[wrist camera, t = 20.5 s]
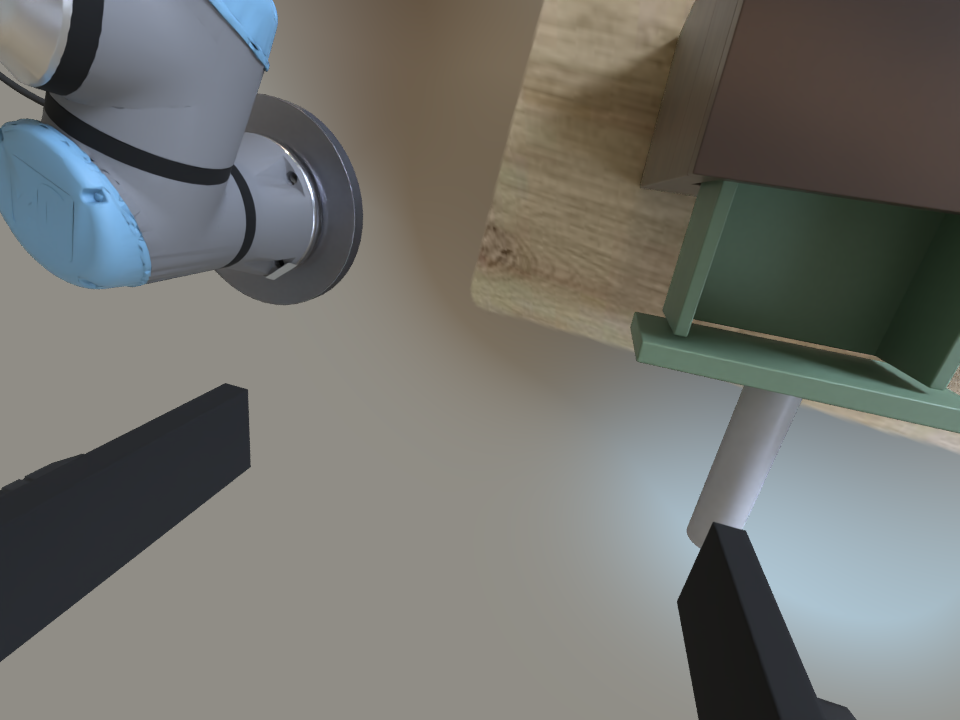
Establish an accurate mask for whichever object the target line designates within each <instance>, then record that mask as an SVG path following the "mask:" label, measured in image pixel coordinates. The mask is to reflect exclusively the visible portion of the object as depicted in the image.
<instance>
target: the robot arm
mask: <svg viewBox="0 0 960 720" xmlns="http://www.w3.org/2000/svg"><path fill="white" fill-rule="evenodd" d="M277 25H278V16H277V11H276V8H275V5H274V2H273V1H272V0H0V62H1V63H2V64H3V65H4V66H5V68H6V69H7V70H8V71H9V72H10V73H11V74H12V75H13V76H14V77H15V78H16V79H17V80H18V81H19V82H21V83H23V84H26V85H28V86H31V87H34V88H38V89H41V90H44V91H46V96H45V99H43V98H41V97H39V96H37V95H35V94H33V93H31V92H29V91H28V90H26V89H25V88H23V87H21V86H20V85H18V84H16V83H15V82H14V81H12V80H11V79H9V78H8V77H6V76H5V75H4V74H2V73H1V72H0V80H1V81H3V82H4V83H5V84H7V85H8V86H10V87H11V88H12V89H14V90H16V91H17V92H19V93H20V94H22V95H24V96H25V97H27V98H29V99H31V100H33V101H34V102H36V103H38V104H40V105H42V106H44V108H43V116H42V120H41V121H38V120H33V119H19V120H17V121H12V122H7V123H5V124H4V125H3V126H2V127H1V128H0V212H1V214H2V216H3V218H4V220H5V221H6V223H7V224H8V226H9V227H10V229H11V231H12V233H13V234H14V236H15V237H16V238H17V240H18V241H19V242H20V244H21V245H22V246H23V247H24V249H25V250H26V251H27V252H28V253H29V254H30V255H31V256H32V257H33V258H34V259H35V260H36V261H37V262H38V263H39V264H41V265H42V266H43V267H44V268H45V269H47V270H48V271H49V272H51V273H52V274H54V275H55V276H57V277H59V278H60V279H62V280H64V281H66V282H68V283H71V284H74V285H76V286H79V287H83V288H89V289H106V288H114V287H122V286H128V287H136V286H141V285H143V284H149V283H153V282H158V281H163V280H167V279H172V278H177V277H182V276H187V275H191V274H196V273H200V272H205V271H210V270H215V269H220V268H228V269H232V270H237V271H241V272H246V273H251V274H255V275H261V276H267V277H265V278H268V279H272V280H275V279H276V278H278V277H279V276H281V275H283V274H284V273H286V272H289V271H292V270H294V269H296V268H298V267H300V266H301V265H303V264H304V263H305V262H306V261H307V260H308V259H309V258H310V256H311V255H312V254H313V252H314V251H315V249H316V247H317V245H318V242H319V239H320V236H321V232H322V225H323V208H322V201H321V196H320V192H319V189H318V186H317V183H316V181H315V179H314V177H313V175H312V173H311V171H310V169H309V168H308V166H307V165H306V163H305V162H304V161H303V159H302V158H301V157H300V156H299V155H298V154H297V153H296V152H295V151H294V150H293V149H292V148H291V147H290V146H288V145H287V144H285V143H284V142H282V141H280V140H279V139H276V138H274V137H272V136H268V135H264V134H259V133H254V132H246V131H245V129H246V125H247V122H248V119H249V116H250V113H251V110H252V107H253V104H254V101H255V98H256V95H257V92H258V89H259V86H260V83H261V80H262V77H263V74H264V71H266V72H267V71H268V69H269V62H268V58H269V54H270V51H271V47H272V44H273V40H274V36H275V33H276V29H277ZM249 440H250V438H249V410H248V390H247V389H244V388H240V387H237V386H233V385H230V384H226V383H225V384H223V385H221V386H219V387H217V388H215V389H213V390H211V391H209V392H207V393H205V394H203V395H201V396H199V397H197V398H195V399H193V400H191V401H189V402H187V403H185V404H183V405H181V406H179V407H177V408H176V409H173V410H171V411H169V412H167V413H165V414H164V415H161V416H159V417H158V418H155V419H153V420H151V421H149V422H148V423H146V424H144V425H142V426H140V427H138V428H136V429H134V430H132V431H130V432H128V433H126V434H124V435H122V436H120V437H118V438H116V439H114V440H112V441H110V442H108V443H106V444H104V445H102V446H100V447H98V448H96V449H94V450H92V451H90V452H88V453H86V454H80V455H77V456H74V457H70V458H67V459H64V460H61V461H57V462H54V463H51V464H49V465H47V466H45V467H43V468H41V469H39V470H37V471H35V472H33V473H31V474H29V475H27V476H25V478H24V479H23V480H20V479H19V480H16V481H14V482H13V483H10V484H9V485H6V486H4V487H2V490H0V662H1V661H2V660H3V659H5V658H6V657H7V656H9V655H10V654H11V653H12V652H14V651H15V650H16V649H17V648H19V647H20V646H21V645H23V644H24V643H25V642H26V641H28V640H29V639H30V638H31V637H33V636H34V635H35V634H37V633H38V632H39V631H40V630H42V629H43V628H44V627H46V626H47V625H48V624H50V623H51V622H52V621H53V620H55V619H56V618H57V617H59V616H60V615H61V614H62V613H63V612H65V611H66V610H68V609H69V608H70V607H71V606H73V605H74V604H75V603H76V602H78V601H79V600H80V599H82V598H83V597H84V596H86V595H87V594H88V593H89V592H91V591H92V590H93V589H94V588H96V587H97V586H98V585H100V584H101V583H102V582H103V581H105V580H106V579H107V578H108V577H110V576H111V575H112V574H114V573H115V572H116V571H118V570H119V569H120V568H121V567H123V566H124V565H125V564H127V563H128V562H129V561H130V560H132V559H133V558H134V557H136V556H137V555H138V554H139V553H141V552H142V551H143V550H145V549H146V548H147V547H148V546H150V545H151V544H152V543H153V542H155V541H156V540H157V539H159V538H160V537H161V536H163V535H164V534H165V533H166V532H168V531H169V530H170V529H172V528H173V527H174V526H175V525H177V524H178V523H179V522H180V521H181V520H183V519H184V518H186V517H187V516H188V515H189V514H190V513H192V512H193V511H195V510H196V509H197V508H198V507H200V506H201V505H202V504H203V503H205V502H206V501H207V500H209V499H210V498H211V497H212V496H214V495H215V494H216V493H217V492H219V491H220V490H221V489H223V488H224V487H225V486H227V485H228V484H229V483H230V482H232V481H233V480H234V479H235V478H237V477H238V476H239V475H241V474H242V473H243V472H245V471H246V470H247V469H249V468H250V467H251V465H250V441H249ZM677 604H678V610H679V615H680V621H681V626H682V631H683V636H684V642H685V647H686V653H687V658H688V664H689V669H690V675H691V680H692V686H693V691H694V696H695V702H696V707H697V713H698V718H699V720H856V719H855V717H854V716H853V715H852V713H851V712H850V711H849V710H848V708H847V707H844V706H841V705H838V704H835V703H832V702H829V701H825V700H823V699H820V698H817V697H816V694H815V692H814V689H813V687H812V685H811V682H810V680H809V678H808V675H807V673H806V671H805V669H804V666H803V664H802V661H801V659H800V657H799V654H798V652H797V650H796V647H795V645H794V643H793V640H792V638H791V635H790V633H789V631H788V629H787V626H786V624H785V622H784V619H783V617H782V614H781V612H780V610H779V607H778V605H777V603H776V600H775V598H774V596H773V594H772V591H771V589H770V586H769V584H768V582H767V579H766V577H765V575H764V572H763V570H762V568H761V566H760V563H759V561H758V558H757V556H756V553H755V551H754V549H753V546H752V544H751V542H750V540H749V537H748V535H747V532H746V531H745V530H741V529H738V528H734V527H731V526H727V525H724V524H720V523H717V522H713V523H712V525H711V527H710V529H709V531H708V534H707V536H706V538H705V540H704V543H703V545H702V547H701V549H700V552H699V554H698V556H697V558H696V560H695V563H694V565H693V567H692V569H691V572H690V574H689V576H688V578H687V580H686V583H685V585H684V587H683V589H682V592H681V594H680V596H679V598H678V601H677Z"/></svg>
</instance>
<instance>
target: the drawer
mask: <svg viewBox="0 0 960 720" xmlns="http://www.w3.org/2000/svg"><path fill="white" fill-rule="evenodd" d="M663 313H664V315H665V317H666V318H664V317H659V316H654V315H649V314H644V313H639V312H635V313H634V316H633V319H632V323H631V327H630V328H631V333H632V339H633V344H634V350H635V355H636V361H638V362H641V363H645V364H650V365H654V366H659V367H664V368H668V369H672V370H677V371H681V372H686V373H690V374H695V375H699V376H704V377H708V378H713V379H717V380H722V381H726V382H731V383H735V384H740V385H744V387H743V390H742V392H741V395H740V397H739V400H738V402H737V405H736V407H735V410H734V412H733V415H732V417H731V420H730V422H729V425H728V427H727V430H726V432H725V435H724V437H723V440H722V442H721V445H720V447H719V450H718V453H717V455H716V457H715V460H714V462H713V465H712V467H711V470H710V472H709V475H708V477H707V480H706V482H705V485H704V487H703V490H702V492H701V495H700V497H699V500H698V502H697V505H696V507H695V510H694V512H693V515H692V517H691V520H690V522H689V525H688V527H687V535H688V537H689V538H690V540H691V541H692V542H693V543H694V544H695V545H696V546H698V547H699V548H700V549H701V547H702V545H703V543H704V540H705V538H706V536H707V534H708V531H709V529H710V527H711V525H712V523H713V522H717V523H720V524H724V525H727V526H731V527H734V528H738V529H741V530H743V527H744V525H745V523H746V520H747V519H748V516H749V514H750V512H751V510H752V508H753V505H754V503H755V501H756V499H757V497H758V495H759V492H760V490H761V488H762V486H763V484H764V481H765V479H766V477H767V475H768V473H769V471H770V468H771V466H772V464H773V462H774V459H775V457H776V455H777V453H778V451H779V449H780V447H781V444H782V442H783V440H784V438H785V436H786V433H787V431H788V429H789V427H790V424H791V422H792V420H793V418H794V416H795V414H796V411H797V409H798V407H799V405H800V403H801V401H802V398H803V399H807V400H812V401H816V402H821V403H825V404H830V405H834V406H839V407H843V408H848V409H852V410H857V411H861V412H866V413H870V414H875V415H879V416H884V417H888V418H893V419H897V420H902V421H906V422H911V423H915V424H920V425H924V426H929V427H933V428H938V429H942V430H947V431H951V432H956V433H960V396H959V395H958V394H956V393H954V392H952V391H951V390H949V389H947V388H946V387H947V385H948V384H949V382H950V380H951V378H952V377H953V375H954V373H955V372H956V370H957V368H958V366H959V365H960V215H955V214H948V213H941V212H934V211H928V210H921V209H914V208H907V207H900V206H893V205H886V204H880V203H873V202H866V201H859V200H852V199H845V198H838V197H832V196H825V195H818V194H811V193H804V192H797V191H790V190H784V189H777V188H770V187H763V186H756V185H749V184H742V183H736V182H729V181H722V180H716V181H709V182H702V183H701V185H700V189H699V192H698V195H697V199H696V202H695V205H694V208H693V212H692V215H691V218H690V221H689V225H688V228H687V231H686V234H685V238H684V241H683V244H682V248H681V251H680V254H679V257H678V261H677V264H676V267H675V270H674V274H673V277H672V280H671V284H670V287H669V290H668V293H667V297H666V300H665V303H664V306H663ZM693 319H695V320H700V321H705V322H710V323H715V324H720V325H725V326H730V327H735V328H740V329H745V330H750V331H755V332H760V333H764V334H769V335H774V336H779V337H784V338H789V339H794V340H799V341H804V342H809V343H814V344H819V345H824V346H829V347H834V348H839V349H844V350H849V351H854V352H859V353H864V354H869V355H874V356H876V357H878V358H880V359H881V360H883V361H885V362H881V361H876V360H871V359H866V358H861V357H856V356H851V355H846V354H841V353H836V352H831V351H826V350H821V349H816V348H812V347H807V346H802V345H797V344H792V343H787V342H782V341H777V340H772V339H767V338H762V337H757V336H752V335H747V334H742V333H738V332H733V331H728V330H723V329H718V328H713V327H708V326H703V325H698V324H693V323H692V321H693ZM886 362H887V363H886Z"/></svg>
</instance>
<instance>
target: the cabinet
mask: <svg viewBox="0 0 960 720" xmlns="http://www.w3.org/2000/svg"><path fill="white" fill-rule="evenodd" d="M716 180H722V181H729V182H736V183H742V184H749V185H756V186H763V187H770V188H777V189H784V190H790V191H797V192H804V193H811V194H818V195H825V196H832V197H838V198H845V199H852V200H859V201H866V202H873V203H880V204H886V205H893V206H900V207H907V208H914V209H921V210H928V211H934V212H941V213H948V214H955V215H960V0H695V2H694V4H693V6H692V8H691V11H690V13H689V15H688V17H687V19H686V22H685V24H684V26H683V28H682V30H681V33H680V35H679V38H678V42H677V46H676V49H675V53H674V57H673V61H672V65H671V69H670V72H669V76H668V80H667V84H666V88H665V92H664V96H663V99H662V103H661V107H660V111H659V115H658V119H657V123H656V126H655V130H654V134H653V138H652V142H651V146H650V149H649V153H648V157H647V161H646V165H645V169H644V173H643V176H642V180H641V184H640V188H644V189H650V190H657V191H663V192H670V193H676V194H683V195H689V196H696V197H697V195H698V192H699V189H700V185H701V183H702V182H709V181H716Z"/></svg>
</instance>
